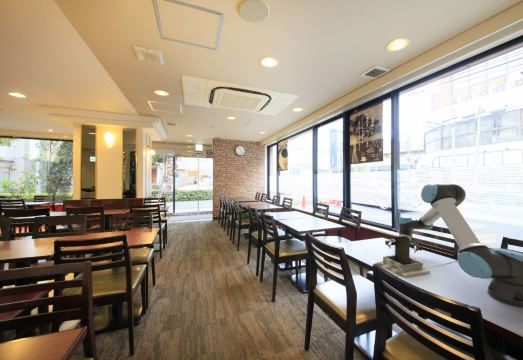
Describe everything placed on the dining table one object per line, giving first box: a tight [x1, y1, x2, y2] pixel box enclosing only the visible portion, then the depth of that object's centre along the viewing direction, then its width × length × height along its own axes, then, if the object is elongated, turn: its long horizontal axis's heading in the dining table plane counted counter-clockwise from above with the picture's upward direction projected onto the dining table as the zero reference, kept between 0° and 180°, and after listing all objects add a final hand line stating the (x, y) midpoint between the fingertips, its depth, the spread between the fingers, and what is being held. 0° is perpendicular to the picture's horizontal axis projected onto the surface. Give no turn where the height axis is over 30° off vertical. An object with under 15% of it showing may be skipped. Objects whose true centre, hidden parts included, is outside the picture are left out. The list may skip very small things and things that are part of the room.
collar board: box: [376, 254, 431, 278], centre depth 136 cm, size 20×20×6 cm
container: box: [394, 235, 411, 265], centre depth 136 cm, size 9×9×18 cm
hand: (401, 248), depth 134 cm, fingers open, 13 cm apart
